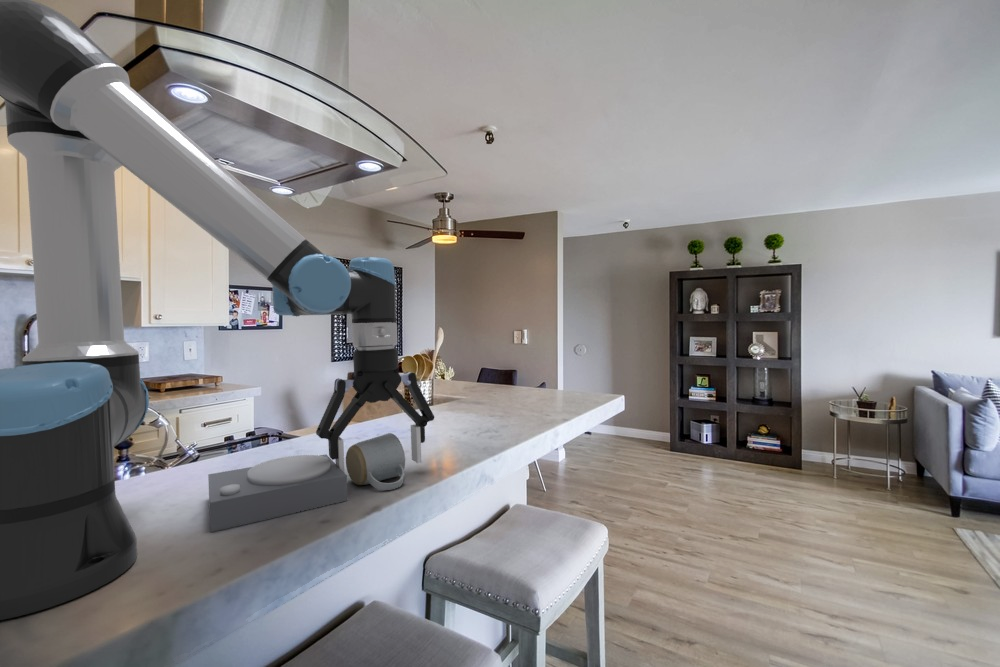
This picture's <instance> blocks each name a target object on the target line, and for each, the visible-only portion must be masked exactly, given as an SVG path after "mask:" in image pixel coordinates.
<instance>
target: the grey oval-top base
mask: <svg viewBox="0 0 1000 667" xmlns="http://www.w3.org/2000/svg"><path fill="white" fill-rule="evenodd" d="M207 476H208V477H207V478H208V500H209V501H208V502H209V503H208V506H209V525H210V529H209V530H210V533H213V532H218V531H223V530H226V529H230V528H235V527H240V526H244V525H247V524H252V523H257V522H261V521H262V522H263V521H266V520H269V519H274V518H279V517H283V516H287V515H288V516H289V515H292V514H297V513H300V511H301V512H305V511H304V510H306V511H310V510H313V508H314V509H318V508H317V507H319V508H322V507H321V506H323V507H326V506H325V505H327V506H330V505H329V504H332V505H334V504H333V503H336V504H340V503H339V502H341V503H344V502H343V501H345V502H348V501H347V500H349V498H348V475H347V474H346V472H345V473H344V472H343V471H342V470H341V469H340V468H339V467H338V466H337V465H336V462H334V460H332V459H331V458H330V456H329V455H327V453H326V454H325V453H324V454H321V455H316V454H303V455H302V454H301V455H290V456H284V457H279V458H274V459H270V460H269V459H268V460H266V461H264V462H260V463H258V464H256V465H253V466H251V467H244V468H239V469H234V470H233V469H232V470H227V471H221V472H215V473H209V474H207ZM309 509H310V510H309ZM296 512H297V513H296Z"/></svg>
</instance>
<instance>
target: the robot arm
mask: <svg viewBox="0 0 1000 667" xmlns="http://www.w3.org/2000/svg"><path fill="white" fill-rule="evenodd" d="M130 82H131V81H130V77H129V74H128V72H127V70H125V69H124V68H123V67H122V66H121V65H120V64H118V63H117V62H116V60H114V59H113V58H112V57H110V55H108V54H107V53H106V52H105V51H104V50H103V49H102V48H101V47H100V46H99V45H98V44H96V42H95V41H93V40H92V38H90V37H89V36H88V35H87V34H86V33H85V32H84V31H83V30H82V29H81V28H80V27H79V25H77V24H76V23H74V22H73V21H72V20H70V19H69V18H68V17H66V16H65V15H64V14H62V13H61V12H59V11H57V10H56V9H53V8H51V7H50V6H48V5H44V4H43V3H41V2H38V1H34V0H0V97H1V98H2V99H3V100H4V105H5V119H6V133H7V134H6V135H7V136H6V137H7V141H8V144H9V145H10V146H11V147H13V148H14V149H15V150H17V151H18V152H19V153H20V154H21V155H22V156H24V158H25V160H26V172H27V189H28V205H29V206H28V208H29V217H30V219H29V220H30V222H29V223H30V234H31V248H32V251H31V252H32V265H33V266H32V268H33V279H34V280H33V281H34V296H35V313H36V315H35V316H36V327H37V328H36V330H37V345H36V346H35V348H34V349H32V350H31V351H30V352H28V353H27V354H26V355H25V356H23V357H22V360H21V362H22V365H19V366H18V365H17V366H15V367H13V368H11V367H10V368H2V369H0V621H3V620H9V619H12V618H17V617H21V616H25V615H30V614H33V613H37V612H40V611H42V610H47V609H49V608H53V607H56V606H58V605H61V604H64V603H67V602H68V601H71V600H75V599H77V598H79V597H82V596H83V595H86V594H89V593H90V592H92V591H95V590H96V589H99V588H100V587H101V588H102V586H105V585H107V584H108V583H110V582H112V581H113V580H115V579H116V578H118V577H120V576H121V575H122V574H124V573H125V572H126V571H127V570H128V569H129V568H130V567H131V566H132V565H133V564H134V563H135V562H136V560H137V557H138V545H137V536H136V533H135V532H134V530H133V527H132V526H131V523H130V522H129V519H128V517H127V515H126V514H125V511H124V510H123V508H122V505H121V504H120V502H119V500H118V497H117V495H116V482H115V481H116V480H115V479H116V478H115V477H116V476H115V473H116V471H115V454H114V452H115V451H114V449H115V447H116V446H118V445H120V444H121V443H123V442H124V441H126V440H127V439H129V438H130V437H131V436H132V435H133V434H134V433H135V432H136V431H137V430H138V429H139V427H140V426H141V425H142V423H143V422H144V420H145V418H146V415H147V413H148V409H149V406H150V395H149V391H148V388H147V386H146V384H145V382H144V381H143V379H142V378H141V370H140V368H141V367H140V355H139V351H138V350H137V349H135V348H134V347H132V345H130V344H128V343H127V341H126V340H125V334H124V317H123V316H124V314H123V313H124V312H123V297H122V281H121V280H122V279H121V264H120V263H121V262H120V261H121V260H120V246H119V234H118V233H119V231H118V214H117V211H118V210H117V197H116V180H115V171H117V170H118V169H120V168H121V167H124V168H125V169H126V170H128V171H129V172H130V173H131V174H132V175H134V176H136V177H137V178H138V179H139V180H140V181H141V182H143V183H144V184H145V185H147V186H148V187H149V188H151V190H153V191H155V193H156V194H158V195H159V196H160V197H161V198H163V199H164V200H166V201H167V202H168V203H170V204H171V205H172V206H174V208H176V209H177V210H178V211H180V212H181V213H182V214H183V215H185V216H186V218H188V219H190V220H191V221H192V222H193V223H195V224H196V225H197V226H198V227H200V228H201V229H202V230H203V231H205V232H206V233H207V234H209V235H210V236H211V237H212V238H214V239H215V240H216V241H218V242H219V243H220V244H221V245H222V246H224V247H225V248H226V249H227V250H229V251H230V252H231V253H232V254H234V255H235V256H237V257H238V258H239V259H240V260H242V261H243V262H244V263H245V264H246V265H248V266H249V267H250V268H252V269H253V270H254V271H255V272H256V273H258V274H259V275H261V276H262V277H263V278H264V279H266V280H267V281H268V282H269V283H270V284H271V285H272V286H271V287H272V305H273V311H274V313H275V314H277V315H279V316H292V317H296V318H297V317H300V316H326V315H327V316H329V315H330V316H331V315H351V325H352V326H351V330H352V334H351V335H352V346H353V347H354V348H356V350H354V351H353V352H352V355H353V356H352V357H353V377H352V379H342V378H339V377H338V378H336V379H335V380H334V388H333V394H332V395H331V398H330V400H329V401H328V404H327V406H326V408H325V410H324V413H323V415H322V417H321V419H320V422H319V424H318V425H317V428H316V431H315V434H316V435H317V436H318V438H320V439H324V440H325V439H326V440H327V442H328V443H327V444H328V457H329V458H330V459H331V460H332V461H334V460H335V464H336V465H337V466H338V467H339V468H340V469H341V470H342V471H343V472H344V473H345V474H346V472H345V469H346V468H345V449H344V439H343V438H342V437H340V436H341V435H342V434H343V432H344V431H345V430H346V428H347V427H348V426H349V424H350V423H351V421H352V420H353V419H354V417H355V416H356V415H357V413H358V412H359V411H360V409H361V408H362V407H364V405H365V404H366V402H367V403H370V404H375V403H377V402H379V401H381V402H388V401H389V400H390V399H391V400H392V401H393V402H394V403H395V404H396V405H397V406H398V407H399V408H400V409H401V410H402V411H403V412H404V413H405V414H406V415H407V416H408V417H409V418H410V419H411V421H413V422H414V424H410V445H411V447H410V448H411V460H412V461H413V462H415V463H416V464H421V463H422V444H423V443H425V441H426V428H425V427H426V426H427V425H428V423H430V422H432V421H434V420H435V415H434V413H433V411H432V410H431V407H430V406H429V404H428V402H427V400H426V398H425V397H424V395H423V393H422V390H421V389H420V387H419V385H418V379H417V374H416V373H415V372H412V371H411V372H410V371H406V372H405V373H403V374H400V373H399V350H397V348H395V346H397V345H398V324H397V301H396V300H397V296H396V295H397V294H396V290H397V283H396V276H395V266H394V264H393V261H392V260H390V259H388V258H384V257H378V256H377V257H375V256H372V257H371V256H369V257H363V256H361V257H355V258H352V259H351V260H350V261H349V265H348V269H347V267H346V266H345V265H344V264H343V263H342V262H341V261H340V260H339V259H337V258H336V257H334V256H331V255H328V254H325V253H323V252H322V251H321V250H320V249H318V248H317V247H316V246H315V245H314V244H312V243H311V242H310V241H309V240H307V239H306V237H304V236H303V235H302V234H301V233H300V232H299V231H297V230H296V229H295V227H294V226H292V225H290V223H288V221H286V220H285V219H284V218H283V217H282V216H280V215H279V214H278V213H277V212H276V211H275V210H274V209H272V208H271V207H270V206H269V205H268V204H267V203H265V201H263V200H262V199H261V198H259V197H258V196H257V195H256V194H255V193H254V192H253V191H252V190H250V189H249V188H248V187H247V186H246V185H245V184H243V183H242V181H240V180H239V179H237V178H236V177H235V176H234V175H233V174H232V173H231V172H229V171H228V170H227V169H226V168H225V167H224V166H222V165H221V164H220V163H219V162H218V161H217V160H216V159H214V158H213V157H212V156H211V155H210V154H209V153H207V151H205V150H204V149H203V148H202V147H201V146H199V145H198V144H197V143H196V142H195V141H193V139H191V138H190V137H189V136H188V135H187V134H186V133H184V131H182V130H181V129H180V128H179V127H177V125H176V124H174V123H173V122H172V121H170V119H168V117H166V116H165V115H164V114H163V113H162V112H160V111H159V110H158V109H157V108H155V106H153V105H152V104H151V103H150V102H149V101H147V99H145V98H144V97H143V96H142V95H141V94H140V93H138V92H137V91H136V90H135V89H134V88H133V87H131V83H130ZM401 382H402V383H403V385H404V386H406V387H407V389H408V392H409V394H410V395H411V397H412V399H413V400H414V402H415V404H416V406H417V408H418V410H419V412H420V414H419V412H417V411H418V410H416V409H415V407H414V406H412V405H411V404H410V402H409V401H407V400H406V398H404V396H403V394H401V392H400V391H398V388H399V386H400V385H401ZM350 388H353V389H354V390H355V391H356V393H355V394H354V395H353V397H352V398H351V401H350V402H349V404H348V405H347V407H346V408H345V409H344V410H343V412H342V413H341V414H340V416H339V417H338V419H337V420H336V421H335V423H334V424H333V422H334V420H335V418H336V416H337V413H338V412H339V409H340V406H341V404H342V402H343V400H344V397H345V395H346V394H345V393H348V392H349V391H350Z"/></svg>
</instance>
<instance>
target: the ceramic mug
mask: <svg viewBox="0 0 1000 667" xmlns="http://www.w3.org/2000/svg"><path fill="white" fill-rule="evenodd" d="M405 466H406V456H405V451H404V446H403V445H402V442H401V441H400V439H399V437H397V435H395V434H393V433H391V432H390V433H389V432H388V433H384V434H382V435H379V436H375V437H372V438H368V439H366V440H361V441H358V442H356V443H354V444H353V445H351V446H350V447H349V448H348V449H347V452H346V455H345V467H346V468H345V469H346V471H347V474H348V476H349V479H350V480H351V481H352V483H354V484H355V485H357V486H364V485H365V486H366V485H370V486H372V487H373V488H375V489H376V490H379V491H382V490H391V489H394V490H396V489H395V488H397V489H398V487H399V488H400V487H401V486H402V485H403V483H404V479H405V468H406V467H405ZM399 476H400V478H399V479H397V480H396V481H394V482H381V481H385V480H388V479H392V478H395V477H399ZM391 491H392V490H391Z"/></svg>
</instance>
